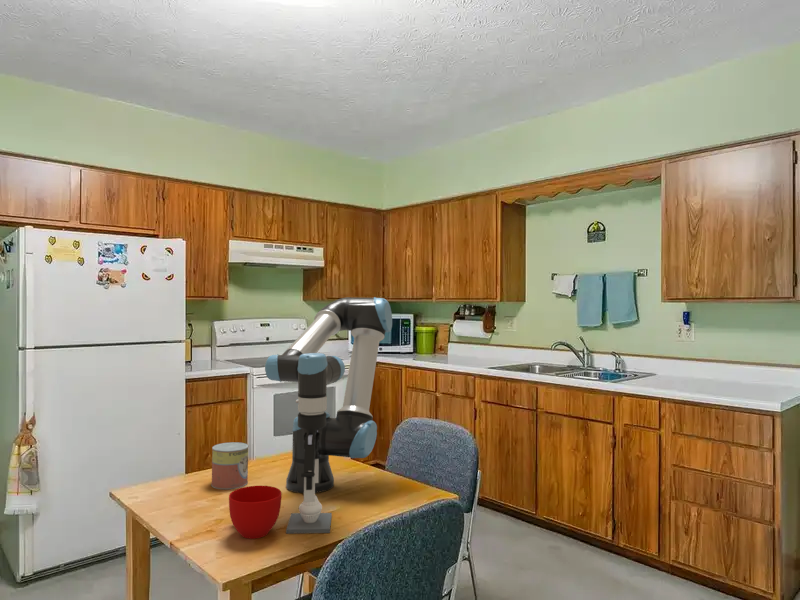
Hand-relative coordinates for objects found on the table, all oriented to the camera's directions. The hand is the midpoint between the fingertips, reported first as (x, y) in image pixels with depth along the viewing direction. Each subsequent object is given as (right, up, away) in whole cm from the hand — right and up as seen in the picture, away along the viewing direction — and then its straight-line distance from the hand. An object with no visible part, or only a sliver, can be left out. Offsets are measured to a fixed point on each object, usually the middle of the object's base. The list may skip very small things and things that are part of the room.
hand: (311, 491), depth 145 cm
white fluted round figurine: (0, -8, -1) cm, 8 cm away
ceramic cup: (-15, -8, -5) cm, 18 cm away
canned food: (-32, -9, +31) cm, 45 cm away
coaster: (0, -9, -1) cm, 9 cm away
